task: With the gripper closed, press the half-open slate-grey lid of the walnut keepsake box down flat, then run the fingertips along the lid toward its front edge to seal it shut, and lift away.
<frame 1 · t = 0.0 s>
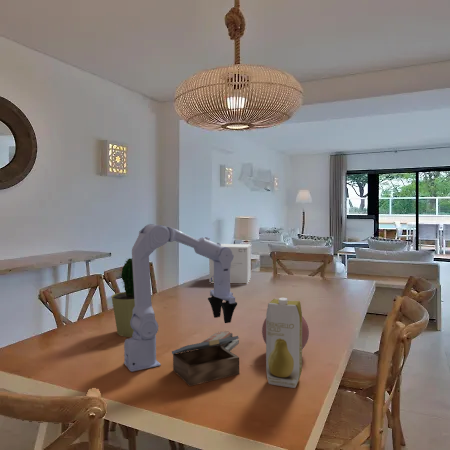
hand: (222, 319, 137), 10 cm above the table, tool pointing down, fingers open, 7 cm apart
packaged product: (216, 351, 137), on the table
cube: (230, 281, 267), on the table
box: (205, 372, 118), on the table
potted cactus: (132, 332, 157), on the table
balloon: (284, 357, 130), on the table
lid: (205, 345, 118), point 8 cm above the table, hinge at 25.0°
juice carton: (284, 382, 111), on the table
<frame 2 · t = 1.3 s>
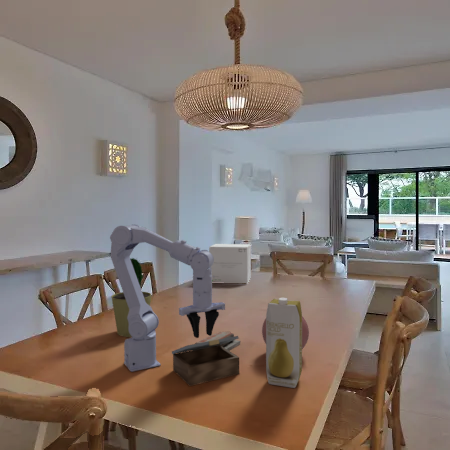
hand: (202, 335, 119), 10 cm above the table, tool pointing down, fingers open, 4 cm apart
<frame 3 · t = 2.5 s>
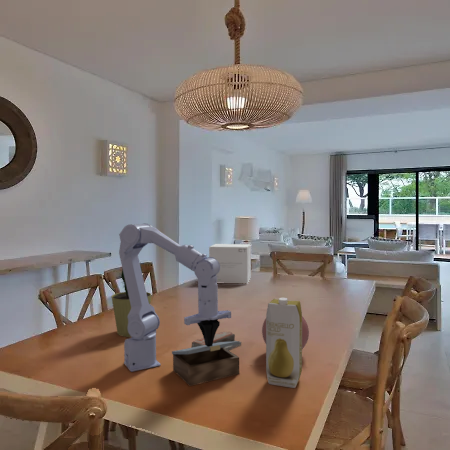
hand: (208, 345, 116), 9 cm above the table, tool pointing down, fingers closed, pressing on lid
lid: (205, 348, 118), point 7 cm above the table, hinge at 17.8°, touching gripper
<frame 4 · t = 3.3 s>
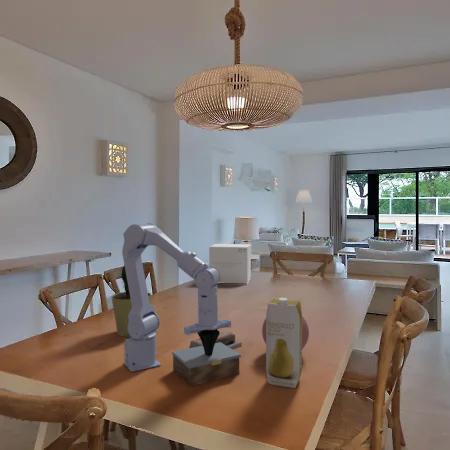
hand: (208, 354, 116), 6 cm above the table, tool pointing down, fingers closed, pressing on lid
lid: (206, 355, 117), point 5 cm above the table, hinge at 0.0°, touching gripper
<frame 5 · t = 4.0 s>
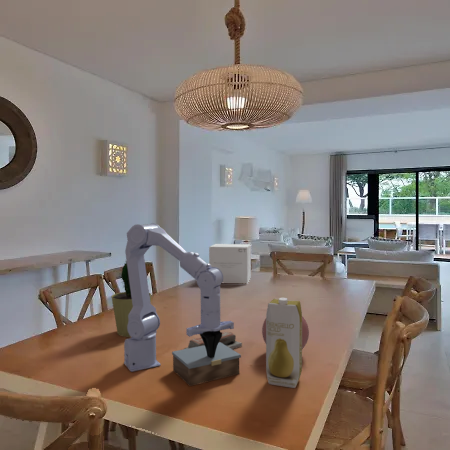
hand: (210, 356, 115), 6 cm above the table, tool pointing down, fingers closed
lid: (206, 355, 117), point 5 cm above the table, hinge at -0.3°, touching box
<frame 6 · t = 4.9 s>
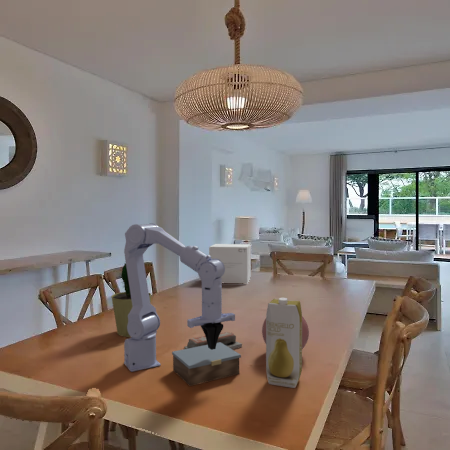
hand: (211, 348, 114), 8 cm above the table, tool pointing down, fingers closed
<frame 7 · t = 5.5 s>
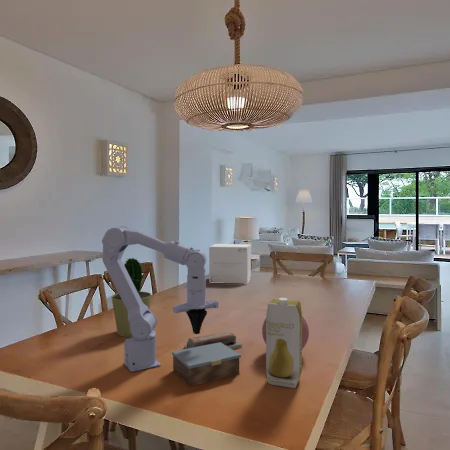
hand: (196, 333, 123), 10 cm above the table, tool pointing down, fingers closed
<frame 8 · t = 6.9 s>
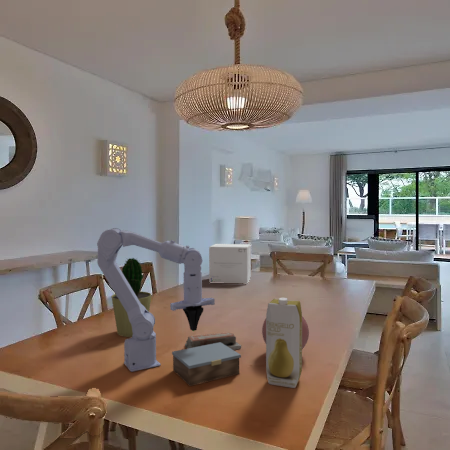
hand: (193, 329, 125), 10 cm above the table, tool pointing down, fingers closed
at the end: lid at +0° (first picture: +25°) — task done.
